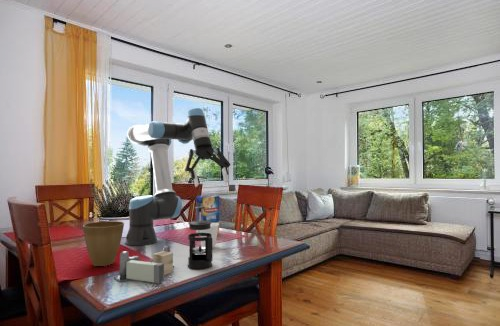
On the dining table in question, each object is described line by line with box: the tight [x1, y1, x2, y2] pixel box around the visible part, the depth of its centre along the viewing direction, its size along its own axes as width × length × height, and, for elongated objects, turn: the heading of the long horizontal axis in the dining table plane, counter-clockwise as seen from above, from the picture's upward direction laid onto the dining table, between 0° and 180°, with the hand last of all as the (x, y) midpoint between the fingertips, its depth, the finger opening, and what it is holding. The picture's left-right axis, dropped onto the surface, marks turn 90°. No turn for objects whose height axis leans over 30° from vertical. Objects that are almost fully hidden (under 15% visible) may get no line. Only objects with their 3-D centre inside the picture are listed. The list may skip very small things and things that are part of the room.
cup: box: [201, 223, 220, 249], centre depth 149 cm, size 10×10×11 cm
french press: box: [187, 207, 213, 271], centre depth 121 cm, size 12×9×23 cm
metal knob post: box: [113, 250, 140, 283], centre depth 109 cm, size 8×6×9 cm
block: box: [152, 250, 174, 276], centre depth 114 cm, size 5×5×7 cm
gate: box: [126, 260, 165, 284], centre depth 105 cm, size 13×3×6 cm, turn 71°
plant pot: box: [82, 220, 125, 267], centre depth 124 cm, size 15×15×16 cm
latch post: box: [162, 245, 175, 269], centre depth 119 cm, size 4×4×8 cm
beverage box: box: [195, 194, 220, 236], centre depth 176 cm, size 7×11×22 cm, turn 133°
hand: (212, 184), depth 132 cm, fingers open, 13 cm apart
